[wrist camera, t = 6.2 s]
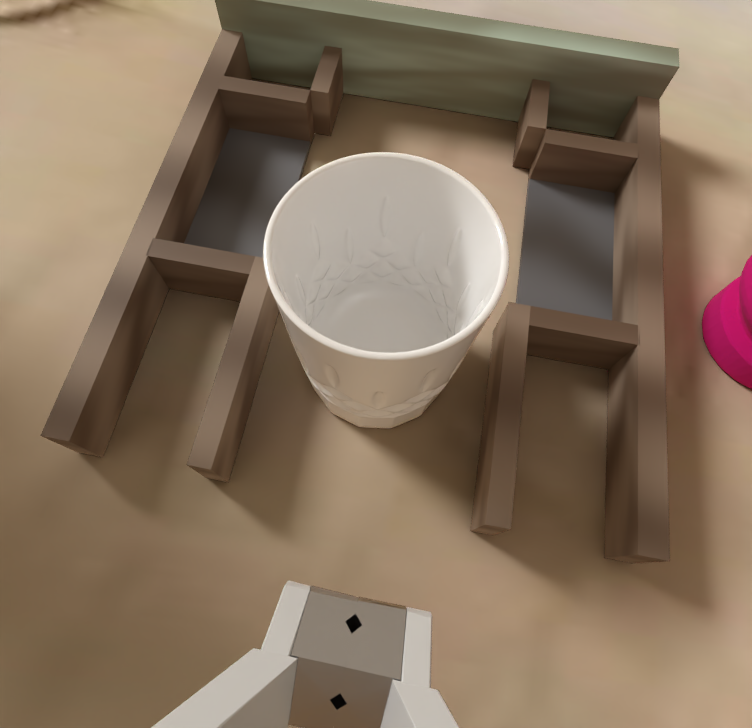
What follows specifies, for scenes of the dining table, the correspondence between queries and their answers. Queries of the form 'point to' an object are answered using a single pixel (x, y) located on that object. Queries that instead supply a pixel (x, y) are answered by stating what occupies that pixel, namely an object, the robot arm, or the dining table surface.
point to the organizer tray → (539, 244)
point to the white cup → (384, 280)
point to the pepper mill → (732, 327)
